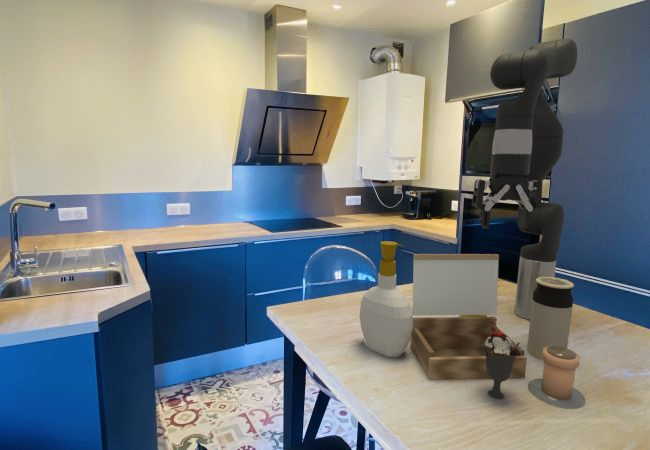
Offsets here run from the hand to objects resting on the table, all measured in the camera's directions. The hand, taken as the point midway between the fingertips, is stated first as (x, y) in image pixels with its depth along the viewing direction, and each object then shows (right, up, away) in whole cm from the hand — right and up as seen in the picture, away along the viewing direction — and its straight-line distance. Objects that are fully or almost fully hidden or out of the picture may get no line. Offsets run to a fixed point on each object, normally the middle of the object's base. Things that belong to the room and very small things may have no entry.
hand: (504, 228), depth 87 cm
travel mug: (+12, -30, +6) cm, 33 cm away
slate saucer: (+5, -32, -10) cm, 34 cm away
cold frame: (-8, -30, +1) cm, 31 cm away
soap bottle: (-25, -29, +7) cm, 39 cm away
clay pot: (+6, -32, -10) cm, 34 cm away
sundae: (-6, -32, -11) cm, 35 cm away
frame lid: (-9, -13, +6) cm, 17 cm away
